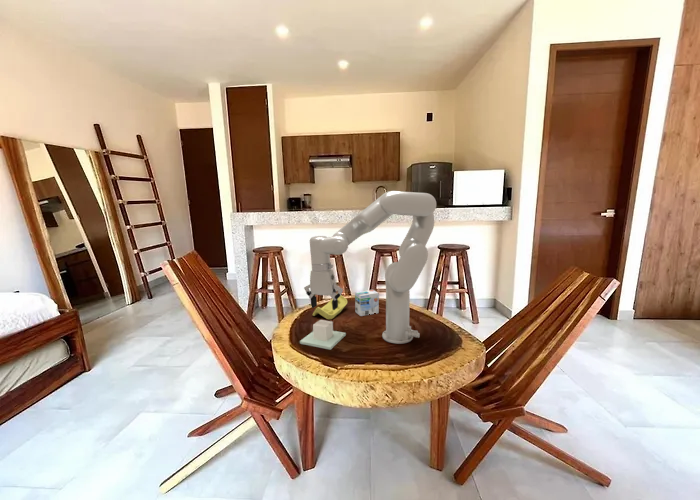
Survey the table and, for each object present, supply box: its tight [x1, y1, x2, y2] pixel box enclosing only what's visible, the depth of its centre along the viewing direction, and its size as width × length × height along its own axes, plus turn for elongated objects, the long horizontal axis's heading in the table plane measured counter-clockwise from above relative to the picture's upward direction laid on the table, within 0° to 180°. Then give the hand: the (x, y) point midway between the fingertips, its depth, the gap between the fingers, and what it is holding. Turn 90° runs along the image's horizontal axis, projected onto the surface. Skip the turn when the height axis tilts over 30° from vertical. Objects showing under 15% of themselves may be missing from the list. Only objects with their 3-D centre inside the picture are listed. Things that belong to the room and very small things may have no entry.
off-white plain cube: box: [312, 319, 334, 341], centre depth 126 cm, size 6×6×6 cm
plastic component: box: [312, 292, 348, 320], centre depth 157 cm, size 20×7×10 cm
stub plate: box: [299, 330, 347, 350], centre depth 126 cm, size 14×14×4 cm
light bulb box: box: [354, 289, 380, 317], centre depth 155 cm, size 11×7×11 cm, turn 113°
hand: (324, 307), depth 125 cm, fingers open, 9 cm apart
